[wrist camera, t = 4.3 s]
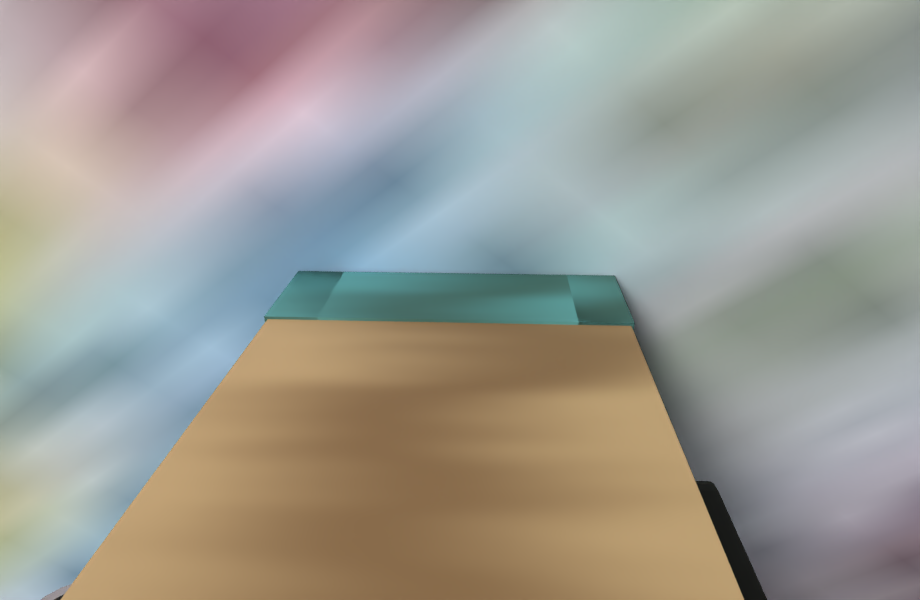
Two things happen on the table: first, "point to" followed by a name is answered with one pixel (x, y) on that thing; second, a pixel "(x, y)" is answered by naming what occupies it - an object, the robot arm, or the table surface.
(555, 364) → the wooden sleeve
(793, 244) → the table surface
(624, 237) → the table surface
